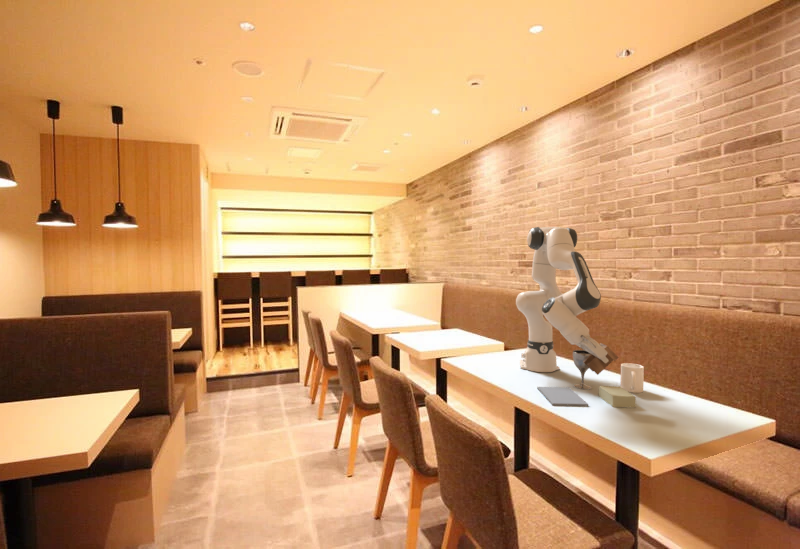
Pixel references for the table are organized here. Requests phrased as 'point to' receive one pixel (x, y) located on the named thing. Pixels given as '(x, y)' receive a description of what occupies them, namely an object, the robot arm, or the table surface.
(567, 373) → the table surface
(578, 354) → the wine glass
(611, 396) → the pale olive rectangular block
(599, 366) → the stool
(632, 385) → the mug
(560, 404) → the mat
